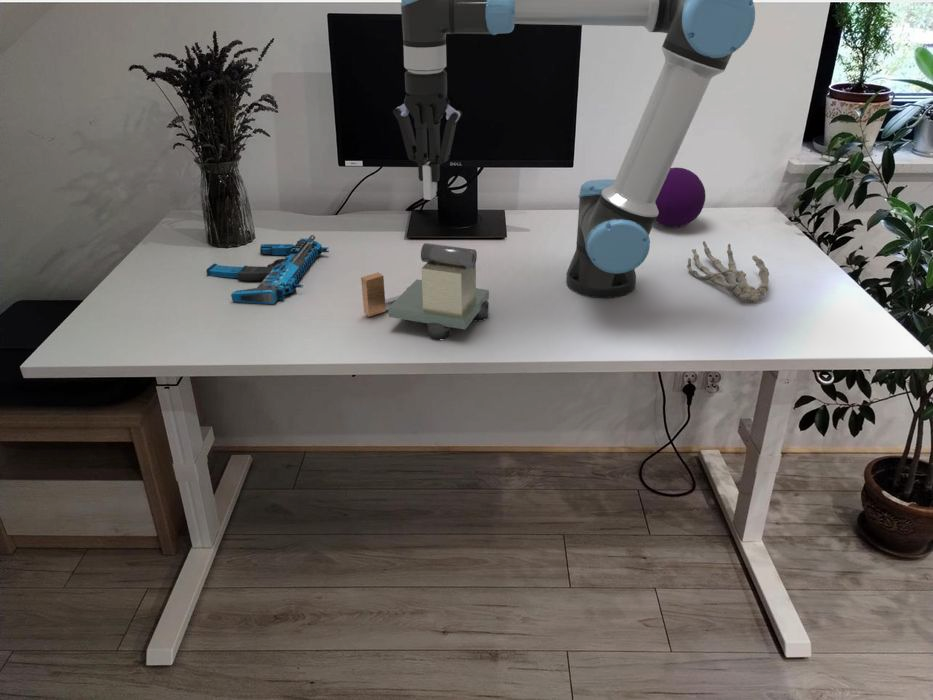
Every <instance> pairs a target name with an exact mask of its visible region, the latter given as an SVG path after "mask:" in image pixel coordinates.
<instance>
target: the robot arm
mask: <svg viewBox="0 0 933 700" xmlns="http://www.w3.org/2000/svg"><path fill="white" fill-rule="evenodd" d="M400 9H401V24H402V25H401V28H402V43H403V66H404V67H403V68H405V70H406V71H405V72H404V87H405V98H404V99H403V103H402V104H401V105H399V106H397V107H396V108H393V110H392V113H393V115H394V117H395V119H396V120H397V122H398V125H399V129H400V133H401V137H402V140H403V144H404V148H405V151H406V155H407V159H408V160H409V161H411V162H412V161H413V162H415V163H416V164H417V168H418V169H417V170H418V172H417V173H418V179H419V181H420V182H422V184H423V185H422V187H423V192H422V193H423V200H427V201H428V200H429V201H432V200H433V199H434V198H436V196H437V182H439V181H440V178H441V165H443V164H444V163H446V162H447V161H448V160H450V156H451V152H452V151H451V150H452V147H453V142H454V137H455V133H456V127H457V123H458V122H459V120H460V118H461V117H462V115H463V113H462V111H461V110H460V109H457V110H456V109H455V108H454V107H452V106H451V105H450V103H451V102H450V100H449V99H448V77H447V76H448V72H447V71H446V70H445V68H447V39H446V37H447V34H448V35H455V34H458V35H459V34H464V35H467V34H472V35H476V34H479V35H480V34H481V35H492V36H496V35H497V34H498V35H499V34H509V33H512V32H513V31H514V29H515V25H517V24H519V25H559V26H560V25H565V26H568V25H569V26H605V27H607V26H608V27H609V26H611V27H612V26H613V27H617V26H618V27H645V29H646V30H647V32H649V33H662V34H663V33H664V34H666V36H665V38H664V41H663V44H662V46H661V50H662V53H663V56H664V59H665V60H664V64H663V66H662V68H661V70H660V73H659V76H658V78H657V80H656V82H655V84H654V87H653V90H652V92H651V95H650V96H649V99H648V101H647V104H646V106H645V108H644V112H643V113H642V115H641V118H640V120H639V123H638V124H637V127H636V130H635V131H634V133H633V134H634V135H633V137H632V139H631V142H630V144H629V147H628V149H627V151H626V154H625V156H624V159H623V161H622V163H621V165H620V168H619V170H618V172H617V176H616V178H615V179H610V178H609V179H608V178H605V179H602V178H601V179H592V180H587V181H585V182H583V183H582V184H581V186H580V190H579V194H578V199H579V203H578V215H577V216H578V217H577V218H578V219H577V234H576V235H577V236H576V248H575V252H574V254H573V256H572V259H571V261H570V264H569V266H568V268H567V271H566V279H565V281H566V285H567V287H568V288H569V289H570V290H571V291H573V292H575V293H577V294H580V295H583V296H586V297H590V298H597V299H598V298H599V299H610V298H611V299H612V298H613V299H614V298H618V297H623V296H627V295H628V294H630V293H632V292H633V291H634V290H635V288H636V284H637V274H636V270H635V269H637V268H638V267H639V266H640V265H642V264H643V262H644V261H646V259H647V257H648V255H649V252H650V247H651V245H650V243H651V239H650V234H651V231H652V229H653V227H654V225H655V223H656V221H655V220H656V218H657V216H658V214H659V211H658V209H657V206H656V204H655V201H656V199H657V197H658V195H659V192H660V190H661V188H662V186H663V184H664V181H665V179H666V177H667V175H668V173H669V170H670V168H672V165H673V163H674V161H675V160H676V157H677V154H678V152H679V150H680V148H681V147H682V146H681V145H683V141H684V140H685V137H686V135H687V133H688V130H689V128H690V126H691V125H692V122H693V120H694V119H695V118H694V117H695V115H696V113H697V110H698V108H699V106H700V103H701V102H702V100H703V97H704V96H705V94H706V91H707V89H708V86H709V84H710V82H711V80H712V79H713V78H714V77H716V76H717V75H720V74H722V73H723V72H725V70H726V68H727V66H728V64H729V62H730V60H731V58H732V56H733V54H734V53H735V52H736V51H739V49H740V48H742V46H744V44H745V43H746V42H747V40H748V39H749V37H750V35H751V34H752V32H753V29H754V25H755V21H756V20H755V19H756V7H755V3H754V0H401V2H400ZM445 114H446V115H445ZM409 115H411V118H413V119H414V120H413V121H414V123H413V124H414V125H413V126H414V129H415V135H414V130H413V126H412V122H411V118H410V116H409ZM444 115H445V118H446V124H445V128H444V132H443V137H442V141H441V135H440V132H441V129H440V127H441V120H442V119H443V118H444ZM428 147H429V148H428ZM428 151H429V152H428ZM428 153H429V154H428ZM428 156H429V157H428Z"/></svg>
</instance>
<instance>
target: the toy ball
mask: <svg viewBox="0 0 933 700" xmlns="http://www.w3.org/2000/svg"><path fill="white" fill-rule="evenodd" d="M705 202H706V188H705V186H704V183H703V182H702V180H701V179H700V177H699V176H698V175H697V174H696V173H695V172H693V171H691V170H690V169H687V168H684V167H671V168H670V170H669V173H668V175H667V177H666V179H665V181H664V184H663V186H662V188H661V190H660V192H659V195H658V197H657V199H656V201H655V204H656V206H657V209H658V211H659V214H658V216H657V218H656V220H655V223H657V224H659V225H661V226H663V227H668V228H680V227H681V228H682V227H684V226H686V225H688V224H690V223H692V222H693V221H694V220H696V219H697V218H698V217H699V215H700V214H701V212H702V210H703V208H704V206H705Z"/></svg>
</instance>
